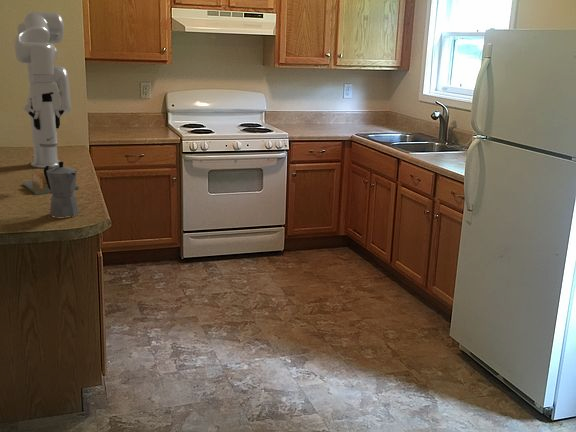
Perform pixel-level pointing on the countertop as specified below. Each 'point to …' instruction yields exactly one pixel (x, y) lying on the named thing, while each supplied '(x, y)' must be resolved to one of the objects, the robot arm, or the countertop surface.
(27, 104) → the robot arm
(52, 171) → the coffeepot
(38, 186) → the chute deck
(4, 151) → the countertop surface
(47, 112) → the travel mug
